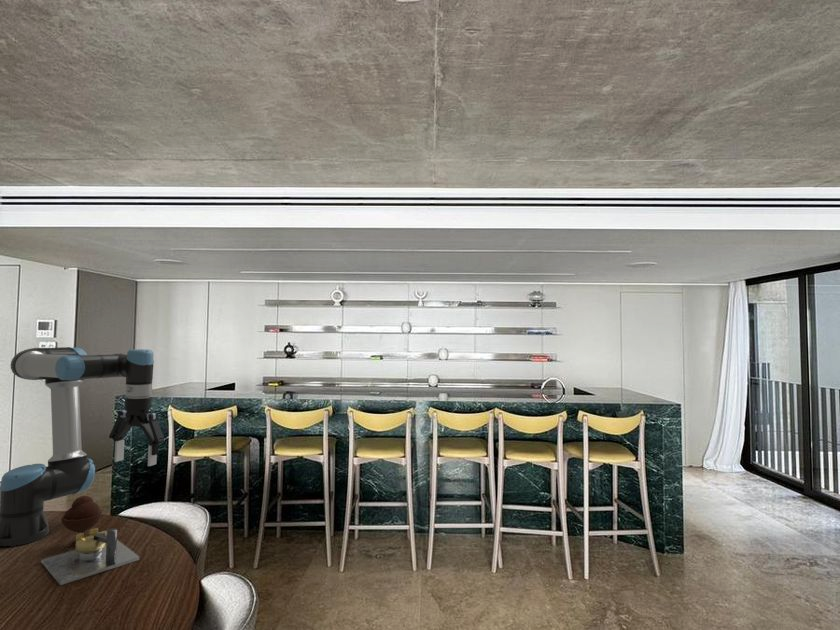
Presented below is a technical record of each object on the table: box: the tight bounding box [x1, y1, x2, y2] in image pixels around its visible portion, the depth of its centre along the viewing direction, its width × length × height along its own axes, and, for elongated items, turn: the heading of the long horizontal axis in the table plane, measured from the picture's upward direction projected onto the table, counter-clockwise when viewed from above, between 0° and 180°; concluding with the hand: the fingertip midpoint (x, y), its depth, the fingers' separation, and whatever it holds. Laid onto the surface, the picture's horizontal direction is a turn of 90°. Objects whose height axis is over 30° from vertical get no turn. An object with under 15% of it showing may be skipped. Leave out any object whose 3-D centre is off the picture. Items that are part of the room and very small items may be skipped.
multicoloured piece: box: [74, 527, 118, 566], centre depth 145 cm, size 15×8×10 cm, turn 65°
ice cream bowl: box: [61, 495, 103, 548], centre depth 159 cm, size 11×11×15 cm
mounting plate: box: [40, 539, 140, 586], centre depth 146 cm, size 20×20×4 cm
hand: (135, 463), depth 155 cm, fingers open, 13 cm apart
